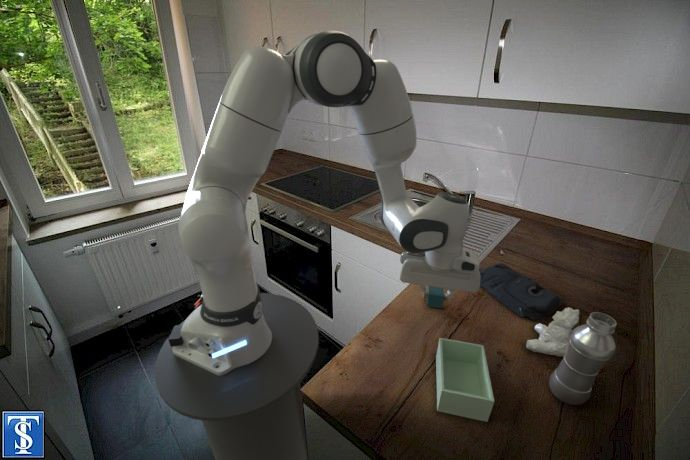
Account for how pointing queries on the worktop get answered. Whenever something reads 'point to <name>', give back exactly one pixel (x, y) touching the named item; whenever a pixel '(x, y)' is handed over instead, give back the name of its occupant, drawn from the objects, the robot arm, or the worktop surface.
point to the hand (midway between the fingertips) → (435, 298)
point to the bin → (463, 380)
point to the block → (435, 297)
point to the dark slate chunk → (518, 292)
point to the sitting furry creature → (555, 333)
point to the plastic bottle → (584, 359)
